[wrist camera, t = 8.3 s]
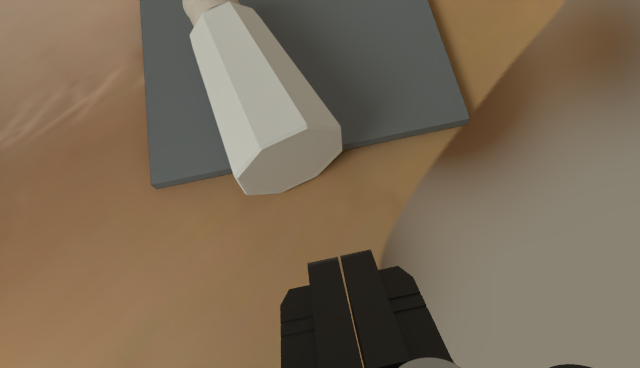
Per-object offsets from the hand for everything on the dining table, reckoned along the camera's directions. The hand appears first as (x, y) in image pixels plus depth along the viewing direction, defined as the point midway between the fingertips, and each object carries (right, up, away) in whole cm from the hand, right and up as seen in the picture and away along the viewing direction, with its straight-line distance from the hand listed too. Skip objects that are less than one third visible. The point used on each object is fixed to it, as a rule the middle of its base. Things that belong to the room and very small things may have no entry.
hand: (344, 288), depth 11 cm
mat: (-2, +9, +15) cm, 18 cm away
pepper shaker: (-2, +3, +10) cm, 10 cm away
